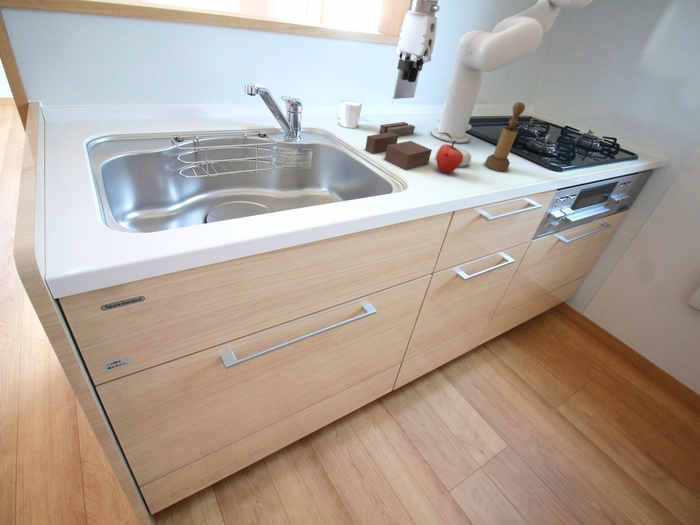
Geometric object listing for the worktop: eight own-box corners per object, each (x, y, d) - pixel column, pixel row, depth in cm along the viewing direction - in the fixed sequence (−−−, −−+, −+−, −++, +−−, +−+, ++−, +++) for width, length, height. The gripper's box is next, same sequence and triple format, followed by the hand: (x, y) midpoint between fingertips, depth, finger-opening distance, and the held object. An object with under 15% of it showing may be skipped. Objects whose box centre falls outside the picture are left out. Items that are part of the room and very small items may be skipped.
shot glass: (340, 120, 125) (342, 99, 121) (359, 124, 125) (363, 102, 121) (336, 126, 119) (339, 103, 115) (357, 129, 119) (360, 107, 115)
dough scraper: (410, 96, 119) (418, 59, 113) (416, 98, 118) (424, 61, 112) (390, 97, 113) (397, 59, 107) (396, 99, 112) (404, 60, 106)
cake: (407, 154, 106) (410, 140, 104) (428, 163, 102) (432, 149, 100) (384, 159, 100) (387, 145, 98) (405, 169, 96) (409, 154, 94)
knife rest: (402, 129, 127) (404, 121, 126) (413, 133, 125) (415, 126, 123) (379, 132, 120) (380, 124, 118) (390, 137, 117) (392, 129, 116)
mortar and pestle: (511, 172, 106) (538, 106, 96) (493, 171, 104) (518, 105, 94) (498, 163, 111) (522, 100, 101) (480, 162, 109) (503, 98, 99)
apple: (454, 168, 102) (466, 132, 96) (460, 178, 96) (472, 140, 90) (427, 164, 101) (437, 128, 95) (431, 174, 96) (442, 136, 90)
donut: (434, 164, 103) (470, 170, 102) (437, 152, 101) (474, 158, 100) (435, 153, 111) (468, 159, 110) (437, 141, 109) (471, 147, 108)
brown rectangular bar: (388, 145, 110) (390, 132, 108) (395, 148, 109) (398, 135, 106) (365, 149, 104) (367, 135, 102) (372, 153, 102) (375, 139, 100)
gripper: (453, 13, 100) (435, 86, 111) (408, 6, 109) (395, 74, 119) (438, 11, 95) (420, 87, 106) (392, 3, 104) (380, 74, 115)
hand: (407, 80), depth 113 cm, fingers closed on dough scraper, 2 cm apart
